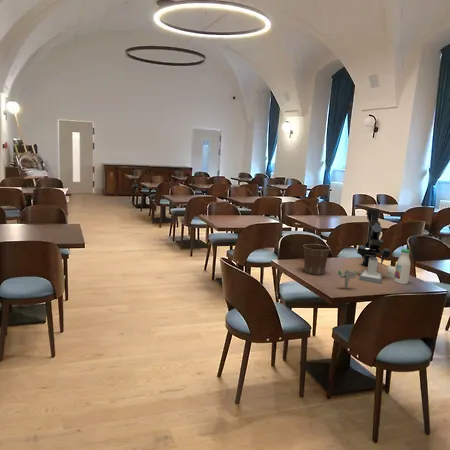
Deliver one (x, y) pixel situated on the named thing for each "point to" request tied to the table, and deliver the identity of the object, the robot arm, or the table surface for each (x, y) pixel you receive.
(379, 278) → the stand
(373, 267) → the housing
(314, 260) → the plant pot
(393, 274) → the white short cylinder
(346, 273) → the mechanical component
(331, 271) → the table surface
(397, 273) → the milk bottle
